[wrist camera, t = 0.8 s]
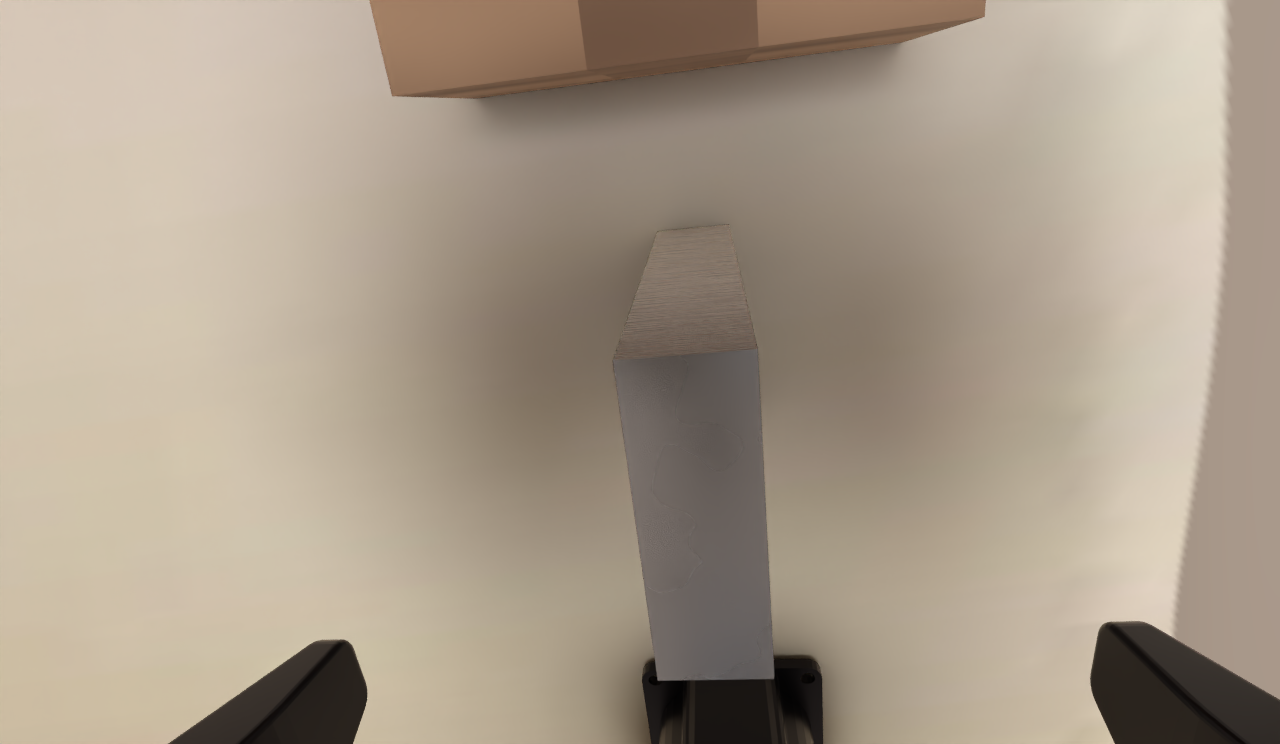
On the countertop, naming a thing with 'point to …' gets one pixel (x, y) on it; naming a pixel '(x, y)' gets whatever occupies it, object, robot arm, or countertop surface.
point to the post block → (625, 37)
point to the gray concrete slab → (697, 459)
